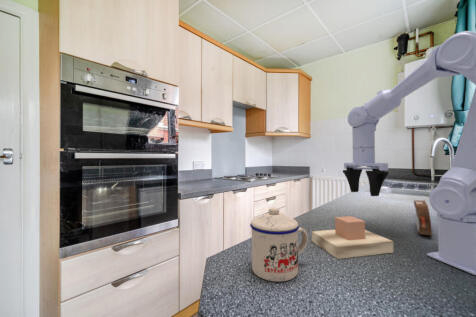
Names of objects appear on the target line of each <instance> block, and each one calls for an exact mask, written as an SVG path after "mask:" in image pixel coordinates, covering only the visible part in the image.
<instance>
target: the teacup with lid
mask: <svg viewBox="0 0 476 317" xmlns="http://www.w3.org/2000/svg"><path fill="white" fill-rule="evenodd" d="M249 227H250V228H251V269H252V272H253V273H254V274H255V275H256V276H257V277H259V278H261V279H264V280H265V281H269V282H287V281H290V280H292V279H294V278H295V277H297V275H298V273H299V254H301V253H302V252H303V251H304V250H305V249H306V247H307V245H308V240H309V235H308V233H307V232H308V231H306V230H305V229H304V228H302V227H300V226H299V223H298V221H297V220H295V218H292V217H289V216H287V215H285V214H284V213H281V212H280V209H279V208H278V207H269V209H268V212H265V213H263V214H262V215H259V216H257V217H254V218H253V219H252V220H251V222H250V225H249ZM299 232H301V235H302V237H301V238H302V239H301V242H300V244H299Z"/></svg>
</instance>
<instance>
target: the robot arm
mask: <svg viewBox="0 0 476 317" xmlns="http://www.w3.org/2000/svg"><path fill="white" fill-rule="evenodd" d="M460 75H462V76H463V77H465V78H466V79H467V80H469V81H470V82H471V83H473V84H474V85H475V86H476V32H475V31H473V30H472V31H471V30H464V31H460V32H457V33H455V34H453V35H451V36H450V37H449V36H448V38H447V39H446V40H445V41H444V42H442V44H440V45H438V46H437V47H435V48H434V49H432V50H431V52H430V54H429V55H428V58H427V59H425V61H423V62H422V63H421V64H420V65H419V66H417V67H416V68H415V69H414V70H413V71H412V72H409V74H408V75H407V76H406V77H405V78H403V79H402V80H400V81H399V83H397V84H396V85H395V86H394V87H392V88H391V89H390V88H387V89H382V90H378V92H377V93H376V95H375V96H373V98H371V99H370V100H368V101H367V102H365V103H364V104H363V105H361V106H355V107H353V108H352V109H351V110H350V111H349V113H348V115H347V123H348V124H349V125H350V127H351V128H352V129H351V130H352V131H351V132H352V133H351V134H352V162H344V163H343V170H342V173H343V174H344V176H345V178H346V180H347V182H348V186H349V190H350V192H351V193H359V191H360V190H359V189H360V179H361V176H362V171H363V170H365V174H366V176H367V179H368V184H369V193H370V196H371V197H379V195H380V192H381V190H382V186H383V184H384V182H385V180H386V178H387V176H388V175H389V163H386V162H376V145H375V144H376V142H375V141H376V140H375V139H376V138H375V137H376V136H375V134H376V131H377V125H378V123H379V122H380V119H381V118H383V117H385V116H386V115H388V114H390V113H391V112H392V111H394V110H395V109H397V108H399V107H400V105H401V102H402V99H404V98H405V97H407V96H409V95H410V94H412V93H414V92H415V91H417V90H418V89H420V88H422V87H424V86H425V85H427V84H429V83H430V82H432V81H434V80H435V79H436V78H437V79H438V78H443V77H444V78H445V77H454V76H460ZM469 104H470V105H469V107H468V111H467V115H466V117H465V122H464V124H463V128H462V131H461V135H460V138H459V142H458V145H457V148H456V151H455V154H454V158H453V162H452V164H451V167H450V168H449V169H448V170H447V171H446V172H445V173H444V174H442V176H441V177H440V179H439V182H438V184H437V186H436V187H435V188H433V189H432V190H431V191H430V193H429V196H428V197H429V198H428V200H429V203H430V206H431V207H432V209H433V211H434V212H435V213H436V215H437V236H438V237H437V239H438V240H437V242H438V243H437V244H438V245H437V246H438V251H435V252H434V251H433V252H427V253H426V255H427V257H430V258H432V259H434V260H437V261H439V262H442V263H444V264H447V265H449V266H452V267H454V268H457V269H459V270H462V271H464V272H466V273H469V274H472V275H474V276H476V87H475V88H474V92H473V96H472V98H471V101H470V103H469Z"/></svg>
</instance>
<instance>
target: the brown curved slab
mask: <svg viewBox="0 0 476 317" xmlns="http://www.w3.org/2000/svg"><path fill="white" fill-rule="evenodd" d="M413 205H414V208H415V209H414V210H415V224H416V230H417V232H418V234H419V235H421V236H428V237H432V236H433V235H432V234H433V233H432V222H431V215H430V210H429V209H430V208H429V205H428V204H427V202H426V200H425V199H424V200H419V199H418V200H414V201H413Z"/></svg>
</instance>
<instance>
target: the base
mask: <svg viewBox="0 0 476 317" xmlns="http://www.w3.org/2000/svg"><path fill="white" fill-rule="evenodd" d="M311 242H312V243H314V244H315V245H317V246H318V247H319V248H321V249H323V250H324V251H325V252H327V253H328V254H330V255H331V256H333V257H334V258H336V260H339V259H340V260H341V259H348V258H358V257H367V256H373V255H374V256H375V255H383V254H390V253H391V254H392V253H394V241H393V240H391V239H389V238H386V237H384V236H381V235H379V234H376V233H375V232H374V233H373V232H371V231H369V230H367V229H365V239H356V240H347V239H345V238H343V237H341V236H339V235H337V234H335V229H326V230H323V229H322V230H313V231H311Z"/></svg>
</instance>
